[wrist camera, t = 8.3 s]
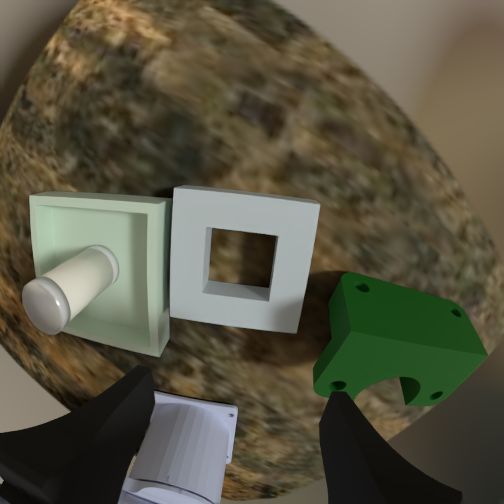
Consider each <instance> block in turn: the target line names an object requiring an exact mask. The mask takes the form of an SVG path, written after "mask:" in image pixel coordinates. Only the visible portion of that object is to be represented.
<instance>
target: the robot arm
mask: <svg viewBox="0 0 504 504" xmlns="http://www.w3.org/2000/svg"><path fill="white" fill-rule="evenodd" d="M237 412H238V408H237V407H236V406H234V405H228V404H221V403H214V402H208V401H202V400H196V399H191V398H186V397H181V396H176V395H171V394H166V393H162V392H157V391H154V386H153V377H152V368H148V367H143V366H139V365H137V366H136V367H135V368H133V369H132V370H131V371H130V372H128V373H127V374H126V375H125V376H123V377H122V378H121V379H120V380H118V381H117V382H116V383H115V384H113V385H112V386H111V387H109V388H108V389H107V390H105V391H104V392H103V393H101V394H100V395H98V396H97V397H95V398H94V399H92V400H91V401H89V402H88V403H86V404H84V405H83V406H81V407H79V408H78V409H76V410H74V411H72V412H70V413H68V414H66V415H64V416H62V417H59V418H57V419H54V420H52V421H50V422H47V423H44V424H41V425H38V426H34V427H31V428H27V429H23V430H18V431H11V432H4V433H0V476H1V478H2V479H3V480H4V481H3V483H2V484H0V504H220V499H221V492H222V485H223V479H224V472H225V465H226V464H228V463H230V462H231V457H232V450H233V442H234V435H235V427H236V420H237ZM149 422H150V426H149V428H148V431H147V433H146V435H145V438H144V440H143V443H142V445H141V448H140V450H139V452H138V455H137V457H136V460H135V462H134V465H133V467H132V470H131V472H130V475H129V477H126V474H127V471H128V468H129V465H130V463H131V460H132V458H133V456H134V454H135V452H136V450H137V448H138V446H139V443H140V441H141V439H142V437H143V435H144V433H145V431H146V429H147V426H148V424H149ZM319 434H320V447H321V453H322V459H323V465H324V470H325V476H326V482H327V488H328V504H466V502H465V499H464V497H463V494H462V492H461V491H458V490H456V489H454V488H451V487H449V486H446V485H444V484H442V483H440V482H438V481H436V480H435V479H433V478H431V477H429V476H428V475H426V474H425V473H423V472H421V471H420V470H419V469H417V468H416V467H414V466H413V465H412V464H410V463H409V462H408V461H406V460H405V459H404V458H403V457H402V456H401V455H399V454H398V453H397V452H396V451H395V450H394V449H393V448H392V447H391V446H390V445H389V444H388V443H387V442H386V441H385V440H384V439H383V438H382V437H381V436H380V435H379V433H378V432H377V431H376V430H375V429H374V427H373V426H372V425H371V424H370V423H369V421H368V420H367V419H366V418H365V416H364V415H363V414H362V412H361V411H360V410H359V408H358V407H357V406H356V404H355V403H354V401H353V400H352V399H351V397H350V396H349V395H348V393H347V392H346V391H332V392H331V395H330V397H329V400H328V402H327V405H326V407H325V410H324V412H323V415H322V417H321V420H320V422H319Z"/></svg>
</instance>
